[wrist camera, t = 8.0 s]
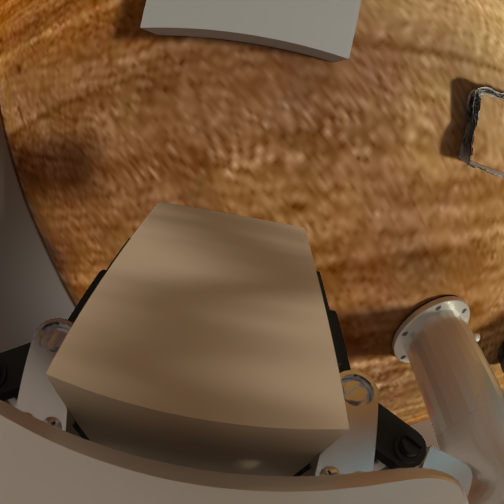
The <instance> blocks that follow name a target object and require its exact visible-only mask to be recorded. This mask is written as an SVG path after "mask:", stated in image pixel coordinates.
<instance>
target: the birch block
mask: <svg viewBox="0 0 504 504" xmlns="http://www.w3.org/2000/svg"><path fill="white" fill-rule="evenodd" d="M46 375H47V377H48V379H49V380H50V382H51V384H52V385H53V387H54V389H55V390H56V392H57V394H58V395H59V397H60V398H61V400H62V401H63V403H64V405H65V406H67V407H68V408H69V410H70V411H71V413H72V414H73V416H74V417H75V421H76V422H77V424H78V425H79V426H80V428H81V429H82V430H83V432H84V433H85V434H86V436H87V437H88V438H89V440H90V441H91V442H94V443H97V444H100V445H103V446H106V447H109V448H112V449H115V450H118V451H122V452H125V453H128V454H132V455H136V456H139V457H143V458H147V459H151V460H155V461H159V462H164V463H168V464H173V465H178V466H184V467H189V468H195V469H201V470H208V471H215V472H224V473H233V474H244V475H259V476H293V475H295V474H296V473H297V472H299V471H300V470H301V469H302V468H304V467H305V466H306V465H308V464H309V463H310V462H311V460H312V459H313V458H314V457H315V456H316V455H318V454H319V453H320V452H324V451H325V450H326V449H327V448H328V447H329V446H331V445H332V444H333V443H334V442H335V441H336V440H337V439H339V438H340V437H341V436H342V435H343V434H344V433H345V432H346V431H347V430H348V429H349V423H348V417H347V411H346V406H345V400H344V395H343V389H342V384H341V379H340V374H339V369H338V364H337V359H336V354H335V350H334V345H333V340H332V336H331V331H330V327H329V322H328V318H327V314H326V309H325V305H324V301H323V297H322V293H321V289H320V284H319V280H318V276H317V273H316V269H315V265H314V261H313V257H312V253H311V249H310V246H309V242H308V238H307V235H306V231H305V228H303V227H298V226H293V225H287V224H282V223H277V222H272V221H267V220H261V219H256V218H251V217H245V216H240V215H234V214H229V213H223V212H217V211H211V210H206V209H200V208H194V207H188V206H182V205H176V204H169V203H163V202H158V203H157V205H156V206H155V207H154V208H153V210H152V211H151V212H150V214H149V215H148V216H147V217H146V219H145V220H144V221H143V223H142V224H141V225H140V226H139V228H138V229H137V230H136V232H135V233H134V234H133V236H132V237H131V238H130V240H129V241H128V243H127V244H126V245H125V247H124V248H123V249H122V251H121V252H120V254H119V255H118V256H117V258H116V259H115V261H114V262H113V264H112V265H111V266H110V268H109V269H108V271H107V272H106V274H105V275H104V277H103V278H102V280H101V281H100V283H99V284H98V286H97V287H96V289H95V290H94V292H93V293H92V295H91V296H90V298H89V300H88V301H87V303H86V304H85V306H84V307H83V309H82V311H81V312H80V314H79V316H78V317H77V319H76V321H75V322H74V324H73V326H72V327H71V329H70V331H69V332H68V334H67V336H66V337H65V339H64V341H63V343H62V344H61V346H60V348H59V350H58V352H57V353H56V355H55V357H54V359H53V361H52V363H51V365H50V366H49V368H48V370H47V372H46Z"/></svg>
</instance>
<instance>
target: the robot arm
mask: <svg viewBox="0 0 504 504" xmlns="http://www.w3.org/2000/svg"><path fill="white" fill-rule="evenodd" d="M129 240H130V238H129V239H128V241H129ZM128 241H127V242H126V243H125V245H126V244H127V243H128ZM125 245H124V246H123V247H122V249H123V248H124V247H125ZM122 249H121V250H120V251H119V253H118V254H117V256H118V255H119V254H120V252H121V251H122ZM117 256H116V257H115V258H114V260H113V261H112V263H111V264H110V266H111V265H112V264H113V262H114V261H115V259H116V258H117ZM110 266H109V267H108V268H107V270H101V271H100V272H99V274H98V275H97V277H96V278H95V279H94V281H93V282H92V284H91V285H90V287H89V288H88V290H87V291H86V293H85V294H84V296H83V297H82V299H81V300H80V302H79V303H78V305H77V306H76V308H75V309H74V311H73V313H72V314H71V316H70V317H69V319H68V320H66V319H62V318H53V319H49V320H46V321H45V322H43V323H42V324H40V326H39V327H38V328H37V329H36V331H35V333H34V335H33V339H32V342H31V343H28V344H25V345H23V346H19V347H17V348H14V349H11V350H8V351H5V352H2V353H0V504H504V393H503V391H502V389H501V387H500V385H499V383H498V381H497V379H496V377H495V375H494V373H493V371H492V369H491V367H490V365H489V363H488V361H487V359H486V357H485V356H484V354H483V352H482V350H481V348H480V347H479V345H478V343H477V342H478V341H479V340H480V334H479V333H472V331H471V330H470V328H469V326H468V325H467V324H468V322H469V318H470V310H469V307H468V305H467V304H466V302H465V301H464V300H463V299H462V298H459V297H456V296H446V297H442V298H438V299H435V300H433V301H431V302H429V303H427V304H425V305H423V306H422V307H420V308H419V309H417V310H416V311H415V312H413V313H412V314H411V315H410V316H409V317H408V318H407V319H406V320H405V321H404V322H403V323H402V324H401V326H400V327H399V329H398V330H397V332H396V334H395V336H394V338H393V342H392V348H393V351H394V354H395V356H396V358H397V359H398V360H400V361H402V362H406V363H410V364H411V367H412V369H413V372H414V375H415V377H416V380H417V383H418V385H419V388H420V391H421V393H422V396H423V399H424V402H425V405H426V408H427V411H428V414H429V417H430V420H431V423H432V426H433V429H434V432H435V436H436V439H437V443H438V446H439V449H440V450H438V449H436V448H435V447H433V446H429V447H426V443H425V441H424V439H423V437H422V436H421V435H420V434H419V433H418V432H417V431H416V430H414V429H413V428H412V427H410V426H409V425H408V424H406V423H405V422H403V421H402V420H401V419H399V418H398V417H397V416H395V415H394V414H393V413H391V412H390V411H389V410H387V409H386V408H385V407H383V406H382V405H381V404H379V403H378V401H379V394H378V388H377V386H376V384H375V382H374V381H373V380H372V379H371V378H370V377H369V376H368V375H366V374H365V373H362V372H360V371H356V370H351V369H350V365H349V361H348V356H347V352H346V348H345V344H344V340H343V336H342V332H341V328H340V324H339V321H338V317H337V314H336V312H335V311H333V310H329V306H328V302H327V298H326V294H325V290H324V287H323V283H322V279H321V275H320V272H318V271H316V273H317V276H318V280H319V284H320V289H321V293H322V297H323V301H324V305H325V309H326V314H327V318H328V322H329V327H330V331H331V336H332V340H333V345H334V350H335V354H336V359H337V364H338V369H339V374H340V379H341V384H342V389H343V395H344V400H345V406H346V411H347V417H348V423H349V429H348V430H347V431H346V432H345V433H344V434H343V435H342V436H341V437H340V438H339V439H337V440H336V441H335V442H334V443H333V444H332V445H331V446H329V447H328V448H327V449H326V450H325V451H324V452H320V453H319V454H318V455H316V456H315V457H314V458H313V459H312V460H311V462H310V463H309V464H308V465H306V466H305V467H304V468H302V469H301V470H300V471H299V472H297V473H296V474H295V475H293V476H259V475H244V474H233V473H224V472H215V471H208V470H201V469H195V468H189V467H184V466H178V465H173V464H168V463H164V462H159V461H155V460H151V459H147V458H143V457H139V456H136V455H132V454H128V453H125V452H122V451H118V450H115V449H112V448H109V447H106V446H103V445H100V444H97V443H94V442H91V441H90V440H89V438H88V437H87V436H86V434H85V433H84V432H83V430H82V429H81V428H80V426H79V425H78V424H77V422H76V421H75V417H74V416H73V414H72V413H71V411H70V410H69V408H68V407H67V406H65V405H64V403H63V401H62V400H61V398H60V397H59V395H58V394H57V392H56V390H55V389H54V387H53V385H52V384H51V382H50V380H49V379H48V377H47V375H46V372H47V370H48V368H49V366H50V365H51V363H52V361H53V359H54V357H55V355H56V353H57V352H58V350H59V348H60V346H61V344H62V343H63V341H64V339H65V337H66V336H67V334H68V332H69V331H70V329H71V327H72V326H73V324H74V322H75V321H76V319H77V317H78V316H79V314H80V312H81V311H82V309H83V307H84V306H85V304H86V303H87V301H88V300H89V298H90V296H91V295H92V293H93V292H94V290H95V289H96V287H97V286H98V284H99V283H100V281H101V280H102V278H103V277H104V275H105V274H106V272H107V271H108V269H109V268H110Z"/></svg>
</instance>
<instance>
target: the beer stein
mask: <svg viewBox="0 0 504 504" xmlns="http://www.w3.org/2000/svg"><path fill="white" fill-rule="evenodd" d="M498 359H499V361H500V364H501V368H502V371H503V372H504V342H503V344H502V346H501V347H500V349H499V353H498Z"/></svg>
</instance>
